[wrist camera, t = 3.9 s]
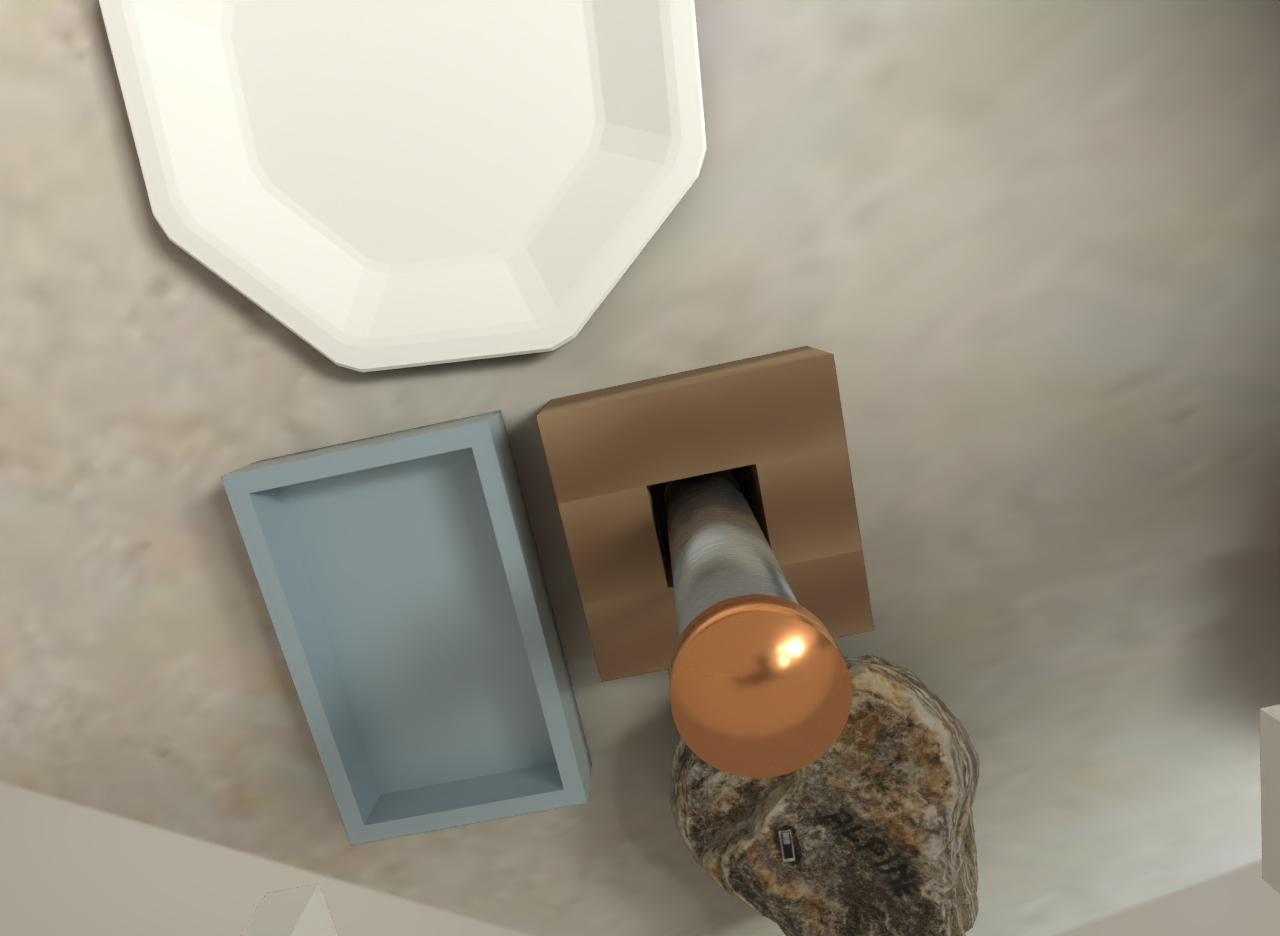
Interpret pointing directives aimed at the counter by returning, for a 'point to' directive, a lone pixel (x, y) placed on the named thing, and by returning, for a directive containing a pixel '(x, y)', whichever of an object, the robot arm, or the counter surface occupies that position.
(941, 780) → the stone
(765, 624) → the lock pin
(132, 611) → the counter surface
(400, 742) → the tray
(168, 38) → the plate
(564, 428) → the block
